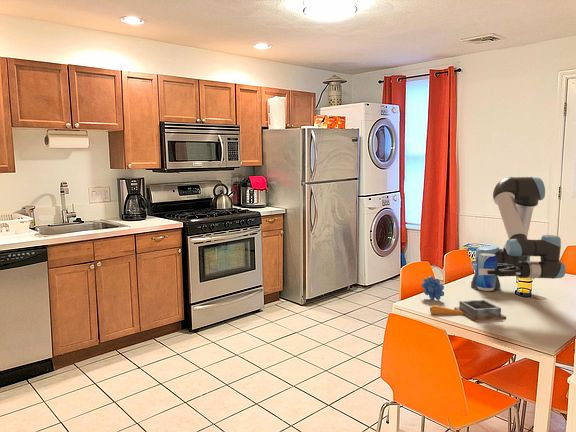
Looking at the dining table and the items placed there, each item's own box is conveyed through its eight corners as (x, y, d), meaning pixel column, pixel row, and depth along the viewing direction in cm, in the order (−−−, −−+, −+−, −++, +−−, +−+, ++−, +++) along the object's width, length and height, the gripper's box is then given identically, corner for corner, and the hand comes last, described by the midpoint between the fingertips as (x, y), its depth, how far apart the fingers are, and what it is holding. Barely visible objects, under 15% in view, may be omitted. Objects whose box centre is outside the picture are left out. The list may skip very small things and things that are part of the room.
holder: (484, 307, 217) (484, 298, 217) (506, 318, 202) (506, 309, 201) (454, 309, 214) (454, 300, 214) (473, 321, 199) (474, 311, 198)
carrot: (430, 316, 208) (432, 309, 206) (428, 309, 212) (430, 302, 210) (474, 322, 206) (476, 314, 204) (472, 315, 210) (474, 308, 208)
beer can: (487, 292, 199) (489, 257, 197) (471, 287, 207) (473, 253, 205) (499, 289, 203) (501, 255, 201) (483, 284, 211) (485, 251, 208)
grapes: (418, 299, 230) (419, 276, 228) (422, 296, 235) (423, 274, 234) (441, 303, 223) (442, 280, 222) (445, 300, 229) (446, 277, 227)
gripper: (538, 284, 193) (484, 283, 194) (516, 271, 213) (467, 271, 215) (539, 267, 192) (484, 266, 193) (517, 256, 212) (468, 256, 214)
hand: (475, 269), depth 204 cm, fingers closed on beer can, 8 cm apart
